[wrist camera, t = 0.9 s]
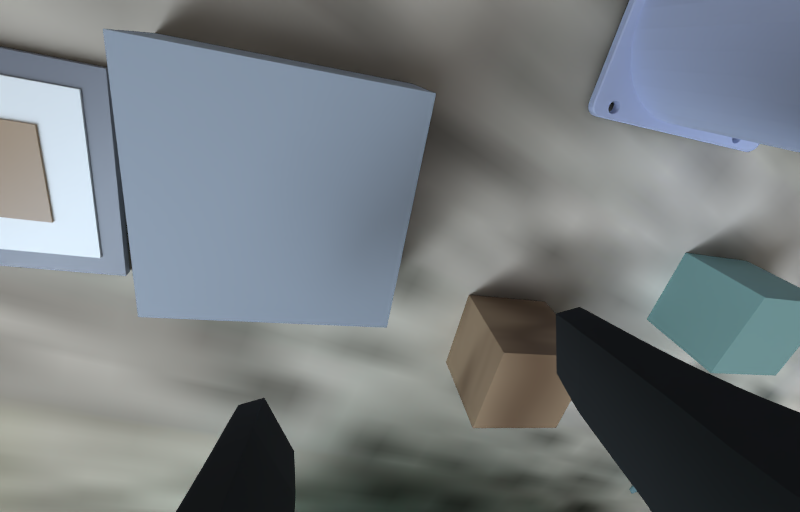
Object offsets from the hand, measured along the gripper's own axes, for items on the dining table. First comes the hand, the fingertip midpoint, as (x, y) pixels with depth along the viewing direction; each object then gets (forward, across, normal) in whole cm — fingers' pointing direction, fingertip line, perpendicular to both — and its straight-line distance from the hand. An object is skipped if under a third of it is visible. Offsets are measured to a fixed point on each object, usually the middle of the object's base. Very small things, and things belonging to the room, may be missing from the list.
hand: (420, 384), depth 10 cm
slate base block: (+10, +3, -3) cm, 11 cm away
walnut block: (+10, -5, +8) cm, 14 cm away
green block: (+10, -18, +10) cm, 22 cm away
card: (+10, +12, -6) cm, 17 cm away
